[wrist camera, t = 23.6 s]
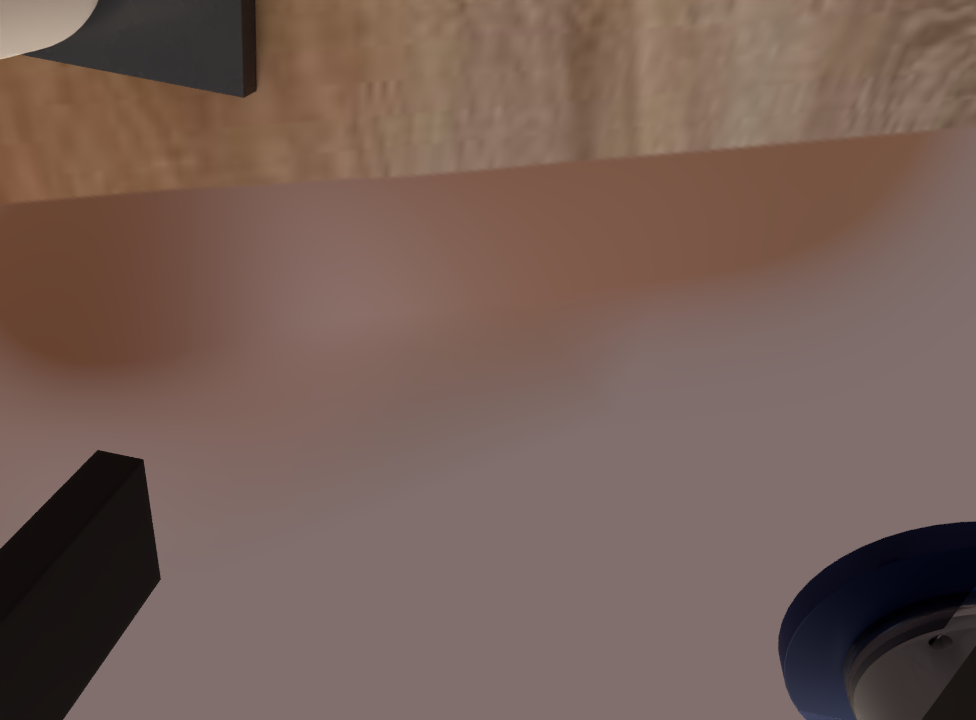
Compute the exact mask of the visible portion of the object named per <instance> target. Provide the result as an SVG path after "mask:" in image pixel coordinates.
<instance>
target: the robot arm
mask: <svg viewBox="0 0 976 720" xmlns="http://www.w3.org/2000/svg"><path fill="white" fill-rule="evenodd" d="M160 580H161V578H160V571H159V564H158V557H157V551H156V543H155V537H154V530H153V523H152V516H151V509H150V502H149V495H148V489H147V482H146V474H145V467H144V460H143V459H139V458H134V457H129V456H124V455H119V454H114V453H109V452H105V451H100V450H97V451H96V453H94V454H93V455H92V457H90V458H89V459H88V460H87V461H86V463H84V464H83V465H82V467H81V468H80V469H79V470H78V471H77V472H76V473H75V474H74V475H73V476H72V477H71V478H70V479H69V480H68V481H67V482H66V483H65V484H64V485H63V486H62V487H61V488H60V489H59V490H58V491H57V492H56V493H55V494H54V495H53V496H52V497H51V498H50V499H49V500H48V501H47V502H46V503H45V504H44V505H43V506H42V507H41V508H40V509H39V510H38V511H37V512H36V513H35V514H34V515H33V516H32V518H30V520H28V521H27V522H26V523H25V524H24V525H23V526H22V528H20V530H19V531H18V532H17V533H16V534H15V535H14V536H13V537H12V538H11V539H10V540H9V541H8V542H7V543H6V544H5V545H4V546H3V547H2V548H1V549H0V720H63V719H64V718H65V716H66V714H67V713H68V712H69V710H70V709H71V708H72V706H73V705H74V703H75V702H76V700H77V699H78V698H79V696H80V695H81V693H82V692H83V690H84V689H85V687H86V686H87V685H88V683H89V682H90V680H91V678H92V677H93V676H94V674H95V673H96V671H97V670H98V669H99V667H100V666H101V664H102V663H103V662H104V660H105V659H106V657H107V656H108V654H109V653H110V651H111V650H112V649H113V647H114V646H115V644H116V643H117V641H118V640H119V639H120V637H121V636H122V634H123V633H124V631H125V630H126V628H127V627H128V626H129V624H130V623H131V621H132V620H133V618H134V617H135V615H136V614H137V613H138V611H139V610H140V608H141V607H142V605H143V604H144V602H145V601H146V600H147V598H148V597H149V595H150V594H151V592H152V591H153V589H154V588H155V587H156V585H157V584H158V582H159V581H160ZM842 677H843V683H844V687H845V690H846V693H847V697H848V700H849V704H850V707H851V710H852V712H853V714H854V716H855V717H856V719H857V720H976V592H964V593H955V594H947V595H942V596H937V597H932V598H929V599H925V600H921V601H918V602H915V603H912V604H909V605H907V606H904V607H902V608H899V609H897V610H895V611H893V612H891V613H889V614H887V615H885V616H884V617H882V618H880V619H879V620H877V621H876V622H874V623H873V624H872V625H870V626H869V627H868V628H867V629H866V630H864V631H863V632H862V633H861V634H860V635H859V636H858V637H857V638H856V640H855V641H854V642H853V644H852V645H851V647H850V648H849V650H848V652H847V654H846V657H845V659H844V663H843V669H842Z"/></svg>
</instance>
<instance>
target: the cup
mask: <svg viewBox="0 0 976 720" xmlns="http://www.w3.org/2000/svg"><path fill="white" fill-rule="evenodd" d="M97 2H98V0H0V59H4V58H8V57H12V56H16V55H20V54H24V53H28V52H32V51H36V50H40V49H44V48H47V47H50V46H53V45H55V44H57V43H59V42H61V41H63V40H65V39H67V38H68V37H70V36H71V35H73V34H74V33H75V32H76V31H77V30H78V29H79V28H80V27H81V26H82V25H83V24H84V23H85V22H86V20H87V19H88V18H89V17H90V15H91V14H92V12H93V10H94V8H95V7H96V5H97Z"/></svg>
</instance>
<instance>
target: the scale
mask: <svg viewBox="0 0 976 720" xmlns="http://www.w3.org/2000/svg"><path fill="white" fill-rule="evenodd" d="M20 55H25V56H30V57H35V58H41V59H46V60H51V61H56V62H61V63H67V64H72V65H77V66H82V67H87V68H92V69H98V70H103V71H108V72H113V73H118V74H124V75H129V76H134V77H139V78H144V79H150V80H155V81H160V82H165V83H170V84H176V85H181V86H186V87H191V88H196V89H201V90H207V91H212V92H217V93H222V94H227V95H233V96H238V97H243V98H244V97H246V96H248V95H250V94H251V93H253V92H255V91H256V54H255V0H98V2H97V5H96V7H95V8H94V10H93V12H92V14H91V15H90V17H89V18H88V19H87V20H86V22H85V23H84V24H83V25H82V26H81V27H80V28H79V29H78V30H77V31H76V32H75V33H74V34H73V35H71V36H70V37H68V38H67V39H65V40H63V41H61V42H59V43H57V44H55V45H53V46H50V47H47V48H44V49H40V50H36V51H32V52H28V53H24V54H20Z"/></svg>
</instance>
